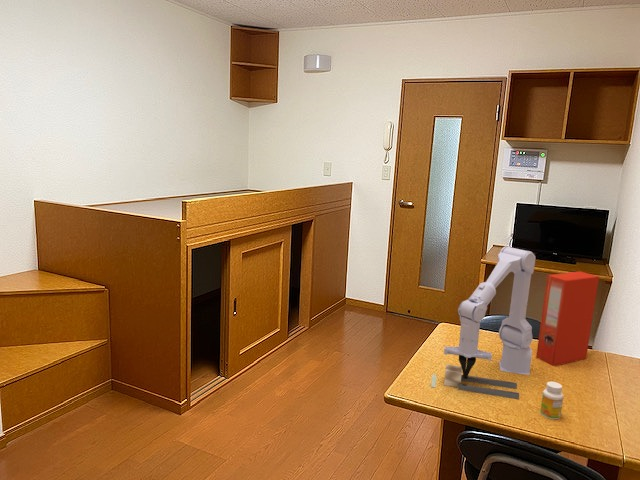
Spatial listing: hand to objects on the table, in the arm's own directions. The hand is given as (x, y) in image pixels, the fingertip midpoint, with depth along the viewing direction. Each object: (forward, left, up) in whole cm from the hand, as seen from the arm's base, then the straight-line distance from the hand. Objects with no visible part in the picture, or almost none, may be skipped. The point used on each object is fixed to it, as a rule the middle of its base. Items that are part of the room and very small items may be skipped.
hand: (465, 377), depth 158 cm
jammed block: (+4, 0, -3) cm, 5 cm away
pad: (+6, 0, -3) cm, 7 cm away
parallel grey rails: (-7, 0, -3) cm, 8 cm away
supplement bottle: (-24, +10, -3) cm, 26 cm away
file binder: (-35, -35, -3) cm, 50 cm away
